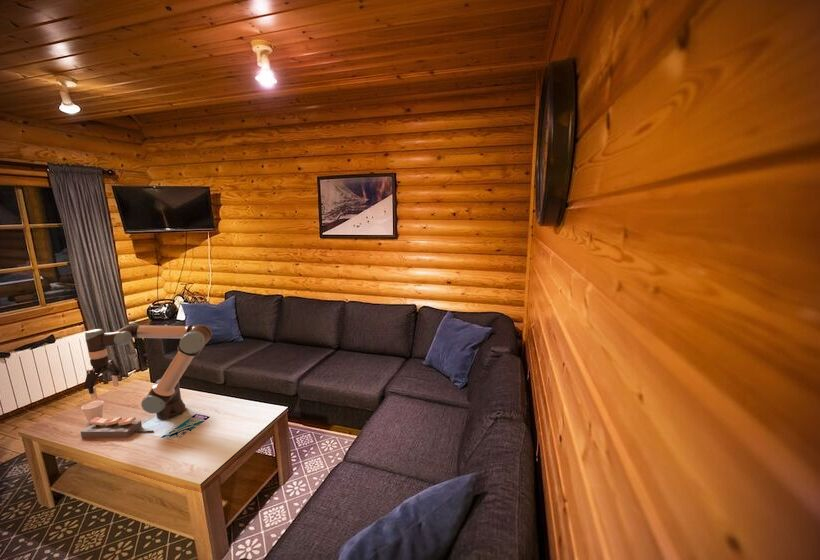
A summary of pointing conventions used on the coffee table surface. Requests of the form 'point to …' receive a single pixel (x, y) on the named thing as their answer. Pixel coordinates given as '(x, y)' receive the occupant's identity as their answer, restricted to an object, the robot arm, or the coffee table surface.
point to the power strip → (112, 430)
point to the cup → (93, 410)
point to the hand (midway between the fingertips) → (105, 392)
